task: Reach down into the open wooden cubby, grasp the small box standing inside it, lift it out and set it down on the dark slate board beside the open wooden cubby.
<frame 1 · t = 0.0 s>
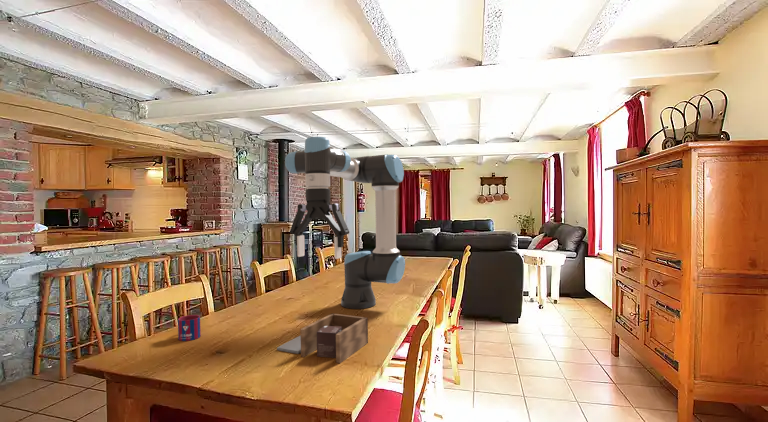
hand: (319, 257, 118), 28 cm above the table, fingers open, 13 cm apart
open wooden cubby: (335, 349, 117), on the table
box: (329, 354, 114), on the table
slate: (299, 345, 121), on the table
mug: (191, 336, 131), on the table
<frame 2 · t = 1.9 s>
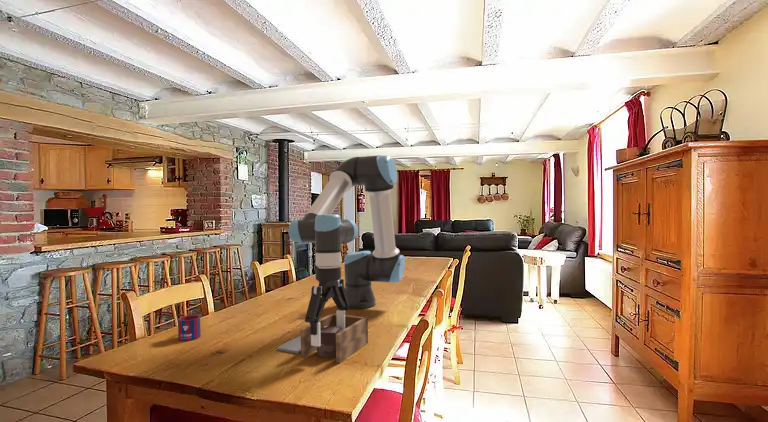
hand: (329, 338, 114), 5 cm above the table, fingers open, 13 cm apart
nothing on the table moved.
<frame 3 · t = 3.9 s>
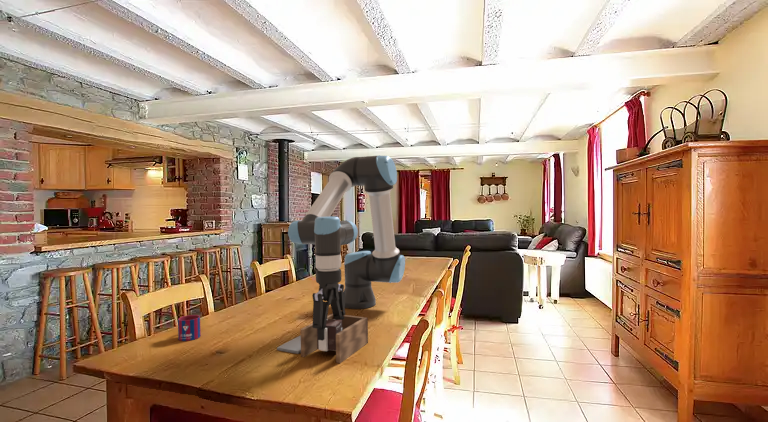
hand: (330, 345, 114), 2 cm above the table, fingers closed on box, 7 cm apart
box: (330, 347, 114), point 2 cm above the table, touching gripper
everything else where it was.
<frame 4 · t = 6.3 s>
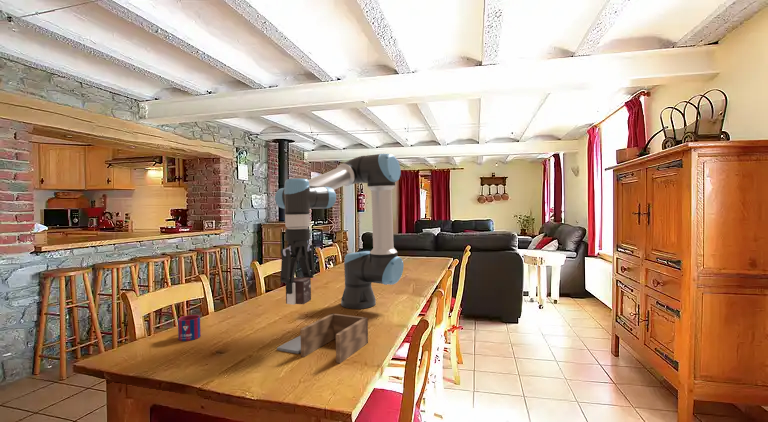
hand: (298, 300, 121), 14 cm above the table, fingers closed on box, 7 cm apart
box: (298, 302, 121), point 13 cm above the table, touching gripper
everything else where it was.
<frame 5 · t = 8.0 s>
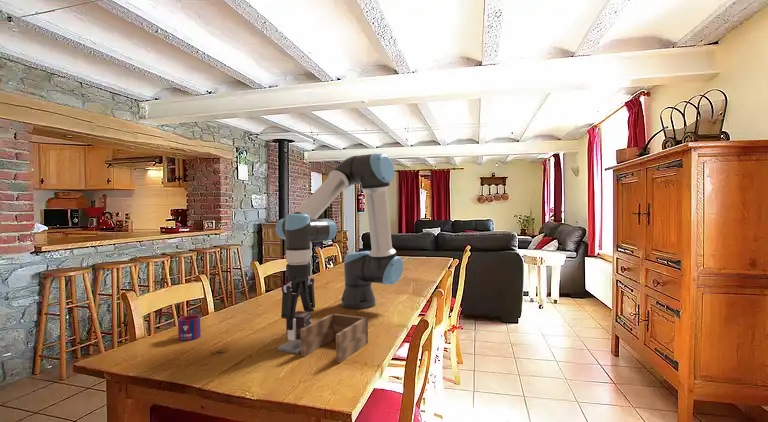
hand: (299, 335, 121), 3 cm above the table, fingers closed on box, 7 cm apart
box: (299, 337, 121), point 2 cm above the table, touching gripper
everything else where it was.
when the fingers open (1 cm above the table, at t = 8.9 s): box stays where it is, resting on slate.
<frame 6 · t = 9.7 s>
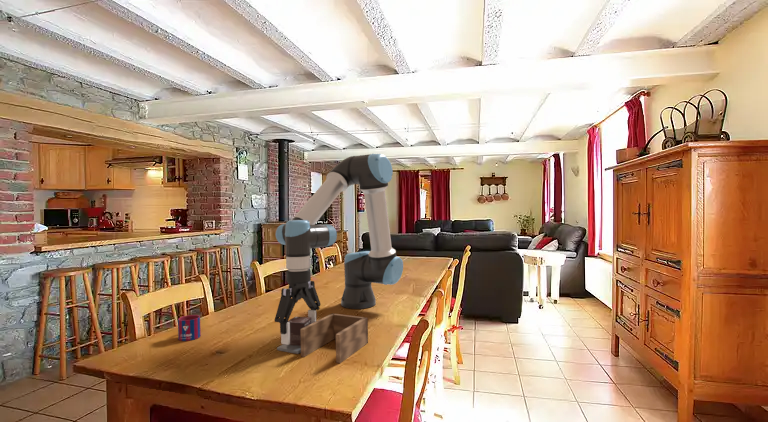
hand: (299, 336, 121), 3 cm above the table, fingers open, 13 cm apart
box: (299, 343, 121), point 1 cm above the table, touching slate
everything else where it was.
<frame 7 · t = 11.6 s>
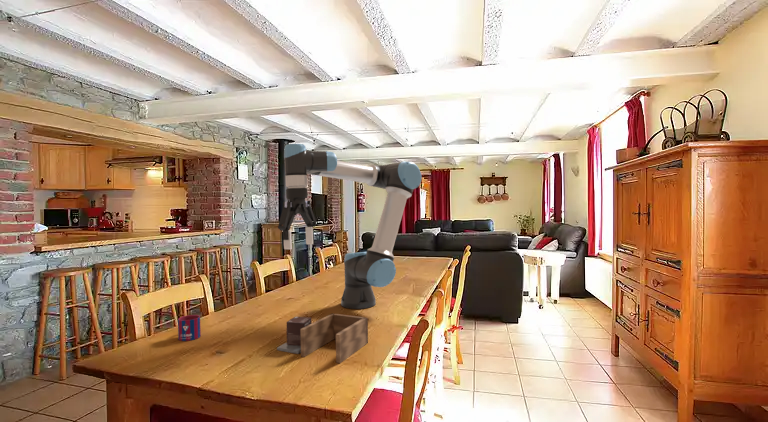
hand: (299, 246, 138), 29 cm above the table, fingers open, 13 cm apart
nothing on the table moved.
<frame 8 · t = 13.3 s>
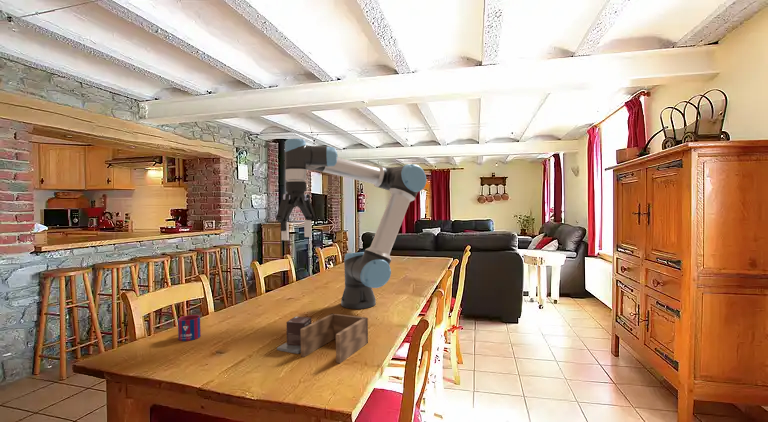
hand: (297, 238, 143), 32 cm above the table, fingers open, 13 cm apart
nothing on the table moved.
at the end: box 0.1 cm from the slate (horizontally); box point 0.6 cm above the table; box tilted 0° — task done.
